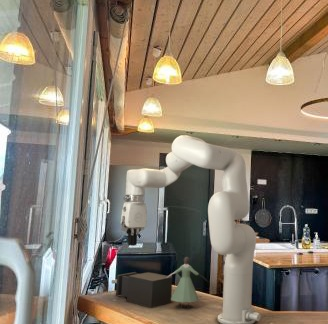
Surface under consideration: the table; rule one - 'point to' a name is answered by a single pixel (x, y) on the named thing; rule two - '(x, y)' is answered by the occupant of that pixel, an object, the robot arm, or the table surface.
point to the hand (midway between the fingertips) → (132, 245)
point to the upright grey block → (149, 289)
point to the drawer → (122, 284)
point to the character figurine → (185, 285)
